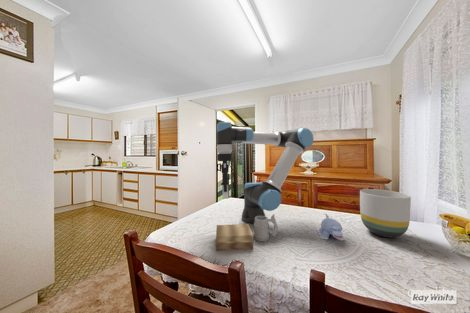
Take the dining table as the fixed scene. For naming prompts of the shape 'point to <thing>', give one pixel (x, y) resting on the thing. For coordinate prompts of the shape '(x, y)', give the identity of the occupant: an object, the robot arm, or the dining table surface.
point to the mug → (264, 228)
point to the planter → (385, 212)
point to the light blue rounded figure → (330, 229)
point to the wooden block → (234, 237)
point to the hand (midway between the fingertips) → (225, 195)
